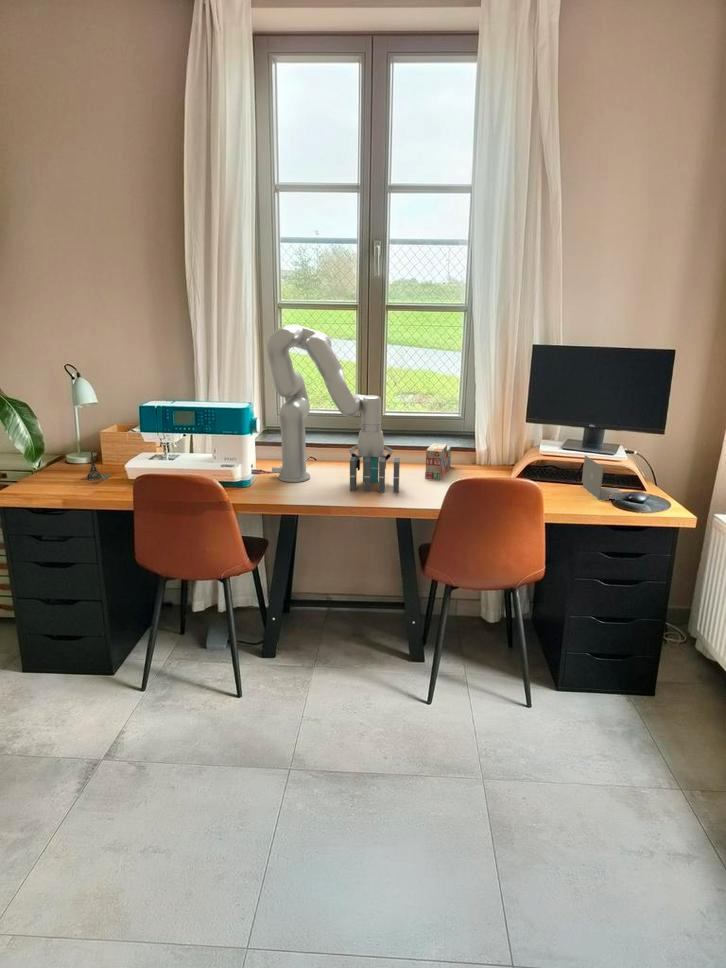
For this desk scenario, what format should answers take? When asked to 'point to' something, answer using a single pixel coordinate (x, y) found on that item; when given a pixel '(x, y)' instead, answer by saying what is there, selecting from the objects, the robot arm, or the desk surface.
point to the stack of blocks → (437, 461)
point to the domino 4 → (396, 475)
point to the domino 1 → (353, 473)
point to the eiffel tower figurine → (96, 472)
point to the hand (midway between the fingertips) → (370, 470)
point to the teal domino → (373, 469)
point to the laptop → (595, 480)
